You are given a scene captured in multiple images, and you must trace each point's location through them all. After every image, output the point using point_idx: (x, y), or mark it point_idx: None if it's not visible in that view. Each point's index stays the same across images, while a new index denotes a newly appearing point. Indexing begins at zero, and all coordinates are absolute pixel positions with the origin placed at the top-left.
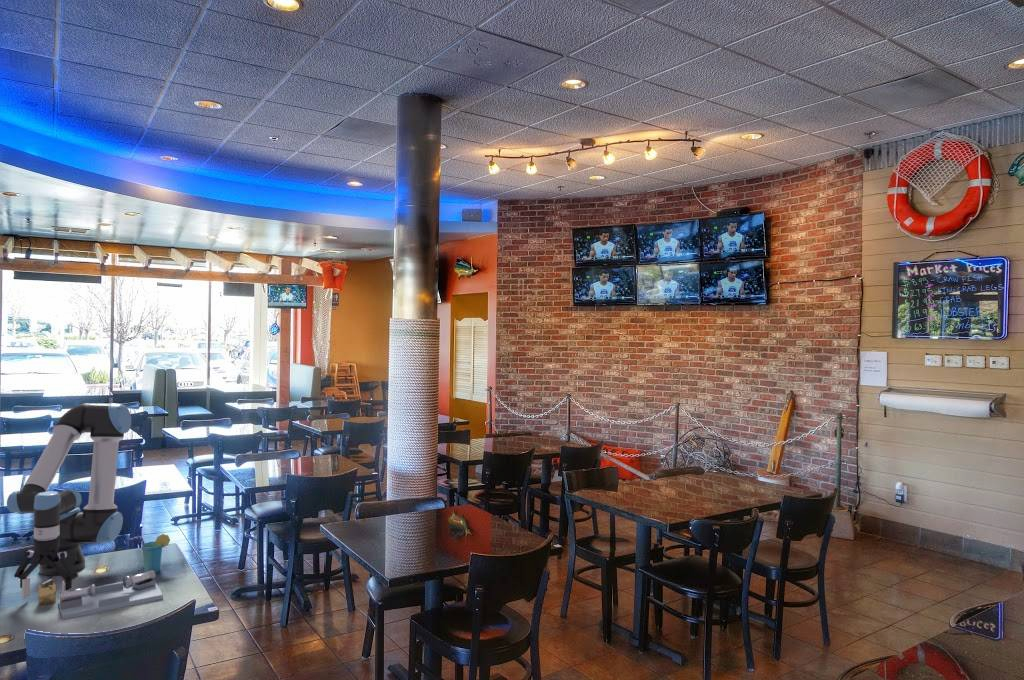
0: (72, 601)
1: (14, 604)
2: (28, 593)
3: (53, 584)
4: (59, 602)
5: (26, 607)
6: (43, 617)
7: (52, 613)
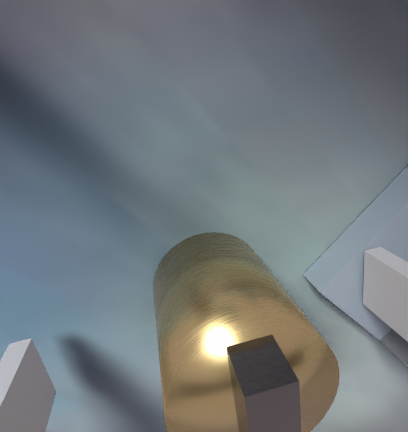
0: None
1: None
2: (29, 373)
3: (303, 357)
4: (359, 321)
5: (142, 379)
6: (344, 408)
7: (357, 367)
